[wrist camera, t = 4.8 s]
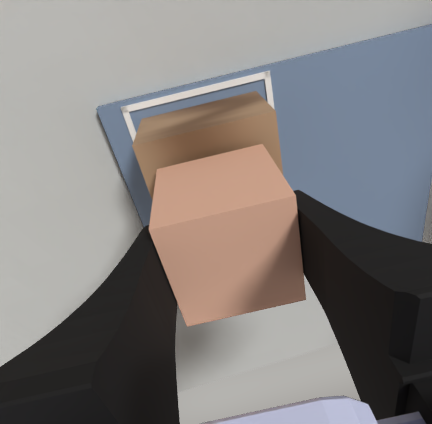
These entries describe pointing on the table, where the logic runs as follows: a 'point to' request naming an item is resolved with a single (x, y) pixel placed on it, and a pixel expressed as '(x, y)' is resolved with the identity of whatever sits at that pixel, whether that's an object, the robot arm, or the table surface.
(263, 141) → the walnut block
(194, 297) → the terracotta block
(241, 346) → the table surface
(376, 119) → the blueprint plate
